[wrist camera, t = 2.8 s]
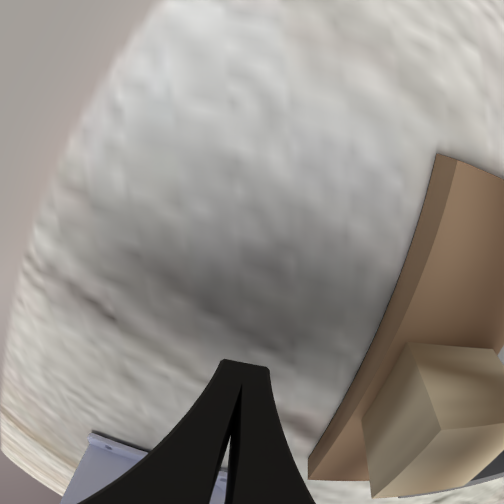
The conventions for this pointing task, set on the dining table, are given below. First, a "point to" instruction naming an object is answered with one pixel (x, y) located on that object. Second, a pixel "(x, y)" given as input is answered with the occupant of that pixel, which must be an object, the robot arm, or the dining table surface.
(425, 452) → the birch block
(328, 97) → the dining table surface
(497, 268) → the walnut board
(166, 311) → the dining table surface
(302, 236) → the dining table surface
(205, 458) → the robot arm
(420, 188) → the dining table surface
